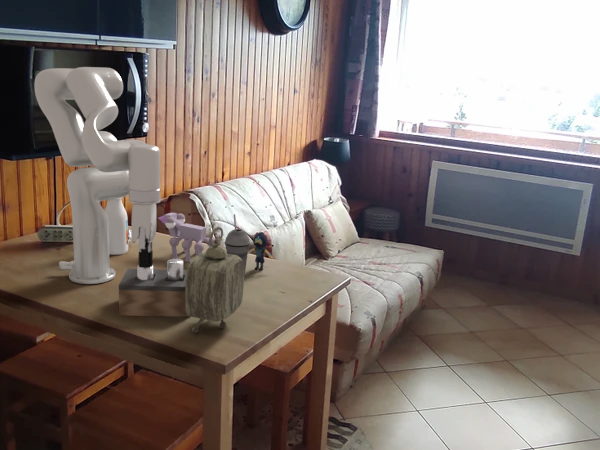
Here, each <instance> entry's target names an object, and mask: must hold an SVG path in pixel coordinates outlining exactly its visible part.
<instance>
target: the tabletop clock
mask: <svg viewBox="0 0 600 450" xmlns="http://www.w3.org/2000/svg"><path fill="white" fill-rule="evenodd" d="M217 231H220V233H221V234H220V237H219V239H217V238H215V240H214V244H212V242H211V240H212V237H213V236H214V235H215V233H216V232H217ZM209 237H210V240H209V242H210V245H211V247H209V246H208V248H207V249H206V250H205V251H204V252H202V254H200V255H196V257H195V258H193V259H192V260H191V261H190V262H189V264H188V265H187V269H186V270H187V275H186V290H185V299H186V313H187V316H190V317H192V318H196V319H199V320H198V322H197V325H196V326H193V327H192V329H191V331H192V333H193V334H198V333H199V330H200V328H199V327H200V326H201V325H202V323H203V322H204V321H205V320H207V321H211V322H212V321H213V322H220V323H219V327H220V328H221V329H225V328H227V323H226V322H225V321H224V320H226V319H228V318H229V317H231V316H232V315H233V314H234V313H235V312H236V311H237V310H238V309H239V308H240V306H241V305H242V302H243V297H244V283H245V276H244V261H243V260H242V259H241V258H240V257H239V256H237V255H232V254H227V252H226V248H224V247H222V245H219V244H220V243H222V242H221V241H222V240H223V237H224V230H223V228H222V227H221V226H217V227H215V228H214V229H213V230H212V231H211V233H210V235H209ZM213 238H214V237H213Z"/></svg>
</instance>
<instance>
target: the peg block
mask: <svg viewBox="0 0 600 450" xmlns="http://www.w3.org/2000/svg"><path fill="white" fill-rule="evenodd" d="M186 275H187V269H183V281H167V268H166V269H156V268H153V281H148V280H137V268H129V267H128V268H127V269H126V271H125V272H124V274H123V275H122V278H121V280H120V282H119V283H118V314H119V315H118V316H122V317H123V316H125V317H127V316H130V317H133V316H135V317H136V316H137V317H172V318H174V317H175V318H176V317H177V318H178V317H180V318H182V317H183V318H186V317H187V318H189V317H190V316H187V313H186V299H185V290H186Z"/></svg>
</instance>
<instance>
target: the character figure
mask: <svg viewBox="0 0 600 450" xmlns="http://www.w3.org/2000/svg"><path fill="white" fill-rule="evenodd" d="M252 243H253V245H254V246H255V247H253V248H251V249H248V254H247V255H249V254H251V253H253V252H255V251H256V252H255V256H256V257H255V261H254V262H255V263H256V266H255V267H254V270H255V271H257V270H258V271H259V272H261V271H263V270H264V263H265V254H266V255H267V256H268V257H269V259H271V260H273V259H274V257H273V256H272V254H271V253H270V252H269V251H268V249H266V246H267V245H268V244H269V241H268V238H267V235H266V234H264V232H258V233H257V234H255V236H253V240H252ZM264 253H265V254H264Z"/></svg>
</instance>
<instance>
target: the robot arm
mask: <svg viewBox="0 0 600 450" xmlns="http://www.w3.org/2000/svg"><path fill="white" fill-rule="evenodd" d="M123 91H124V82H123V80H122V77H121V76H120V74H119V73H118V71H116V70H115V69H113V68H111V67H101V66H100V67H99V66H98V67H97V66H96V67H95V66H93V67H92V66H81V67H80V66H79V67H76V68H68V67H66V68H62V67H59V68H57V67H56V68H46V69H43V70H41V71H39V72H38V73H37V74H36V76H35V79H34V93H35V99H36V101H37V103H38V105H39V108H40V110H41V111H42V113H43V115H44V116H45V117H46V119H47V120H48V122H49V124H50V126H51V129H52V132H53V134H54V138H55V141H56V143H57V146H58V149H59V152H60V154H61V156H62V158H63V161H64V162H65V164H67V165H68V166H69V167H73V168H74V167H76V168H77V167H78V169H75V170H73V171H72V172H70V173H69V175H68V176H67V179H66V187H67V192H68V196H69V201H70V206H71V218H72V239H73V240H72V242H73V243H72V244H73V260H71V261H64V260H63V261H61V260H60V261H59V263H58V267H59V269H60V271H70V272H69V273H68V278H69V280H70V281H71V282H74V283H77V284H80V285H81V284H83V285H94V284H95V285H96V284H101V283H106V282H109V281H111V280H113V279H114V278H116V270H115V269H114V268H112V267H110V265H111V264H110V254H109V224H108V215H107V213H106V211H105V208H103V206H102V205H101V204H100V203H101V202H103V201H108V200H110V199H117V198H122V199H123V198H125V197H127V196H128V202H129V203H131V204H132V205H131V206H132V208H131V229H130V230H131V232H130V234H131V235H130V238H131V239H130V241H131V243H132V244H135V243H137V240H138V265H139V267H152V265H153V266H154V257H153V255H154V253H153V252H154V251H153V240H154V238H155V236H156V233H157V204H159V203H161V202H162V201H161V200H162V198H161V150H160V148H159V147H158V146H156V145H154V144H148V143H146V141H145V142H144V141H143V140H139V139H126V140H125V139H121V140H118V139H117V137H115V136H114V135H113V134H112V133H111V132H110V131H109V132H108V131H103V129H104V128H106V127H108V126H109V125H111V124H112V123H114V121H115V120H116V119H117V117H118V115H119V108H118V105H117V104H116V102H115V101H114V100H117V99H119V98H120V97H121V95H122V94H123ZM66 100H67V101H68V100H72V101H73V100H74V101H75V103H76V105H77V107H78V108H79V110H80V111H81V113H82V115H83V117H84V118H85V121H84V119H83V117H82V116H81V114H80V112H78V111H77V110H76V108H74V107H73V106H72V105H70V104H69V103H68V102H67V101H66ZM89 166H90V167H89ZM79 167H81V168H79Z"/></svg>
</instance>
